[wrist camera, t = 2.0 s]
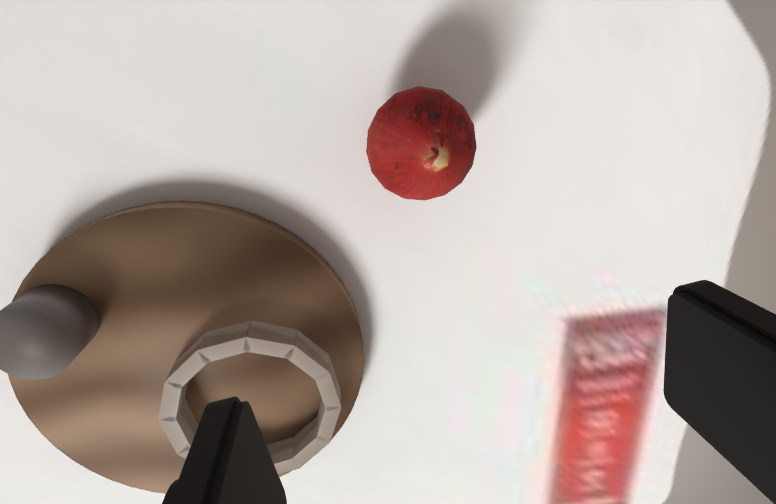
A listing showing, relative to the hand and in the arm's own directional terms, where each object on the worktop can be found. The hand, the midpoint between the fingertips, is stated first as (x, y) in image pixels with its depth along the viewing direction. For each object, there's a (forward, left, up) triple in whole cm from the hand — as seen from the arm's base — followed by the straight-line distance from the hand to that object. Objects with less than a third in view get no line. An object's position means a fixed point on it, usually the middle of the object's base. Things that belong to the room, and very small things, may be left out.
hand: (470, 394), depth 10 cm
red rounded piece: (-3, +3, -20) cm, 20 cm away
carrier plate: (+8, -14, -20) cm, 26 cm away
